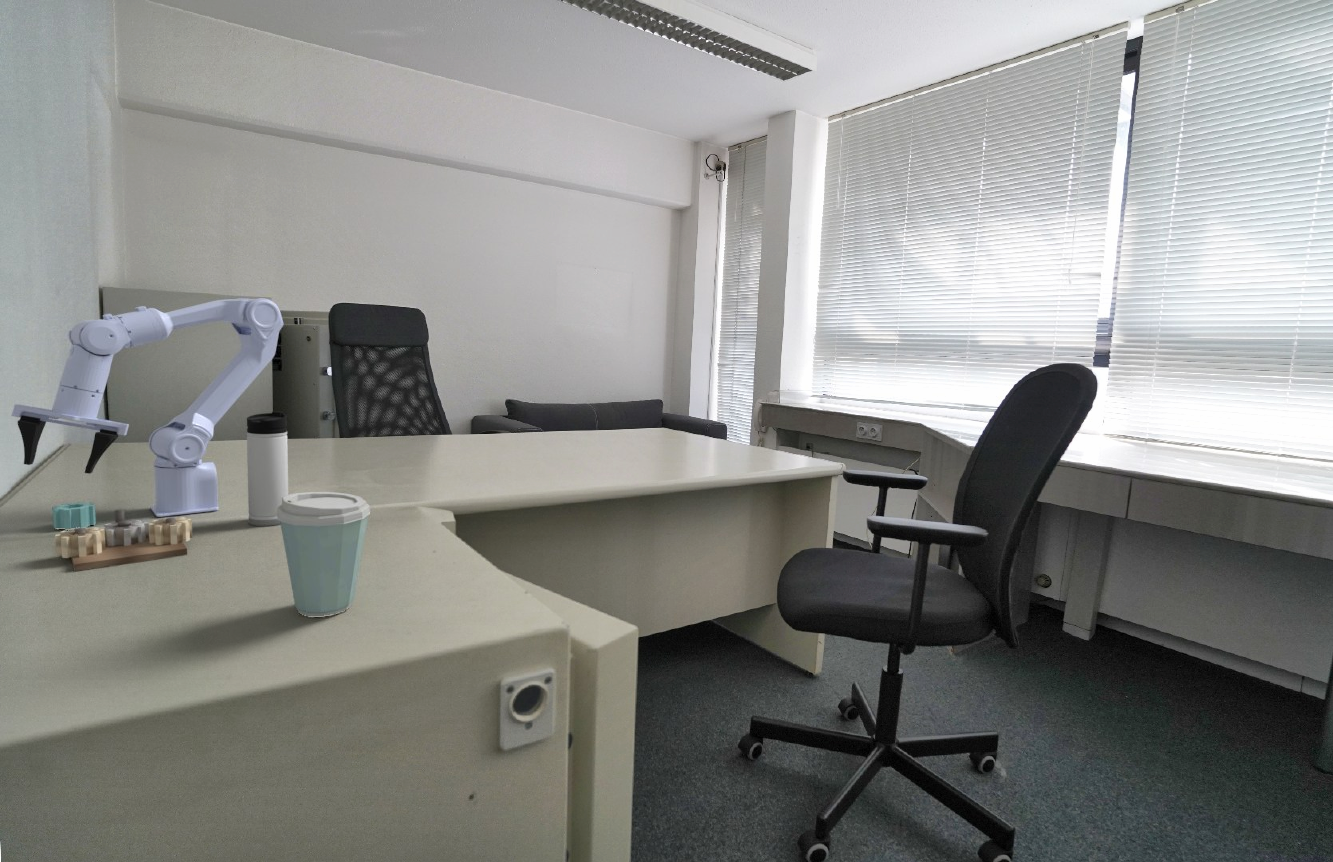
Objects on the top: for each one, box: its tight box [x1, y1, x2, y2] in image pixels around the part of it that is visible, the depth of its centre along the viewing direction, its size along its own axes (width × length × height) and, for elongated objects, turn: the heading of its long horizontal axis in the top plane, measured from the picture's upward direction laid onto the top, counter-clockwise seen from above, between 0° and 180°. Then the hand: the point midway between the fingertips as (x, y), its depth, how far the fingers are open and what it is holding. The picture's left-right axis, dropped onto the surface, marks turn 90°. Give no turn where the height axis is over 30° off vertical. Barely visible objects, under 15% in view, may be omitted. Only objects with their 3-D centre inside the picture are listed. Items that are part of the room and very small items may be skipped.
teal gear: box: [52, 501, 97, 529], centre depth 112 cm, size 5×5×4 cm
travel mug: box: [246, 411, 289, 527], centre depth 120 cm, size 6×7×20 cm
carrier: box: [54, 508, 193, 572], centre depth 104 cm, size 16×18×4 cm
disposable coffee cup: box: [276, 491, 371, 617], centre depth 85 cm, size 11×11×15 cm
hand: (58, 468), depth 110 cm, fingers open, 7 cm apart
